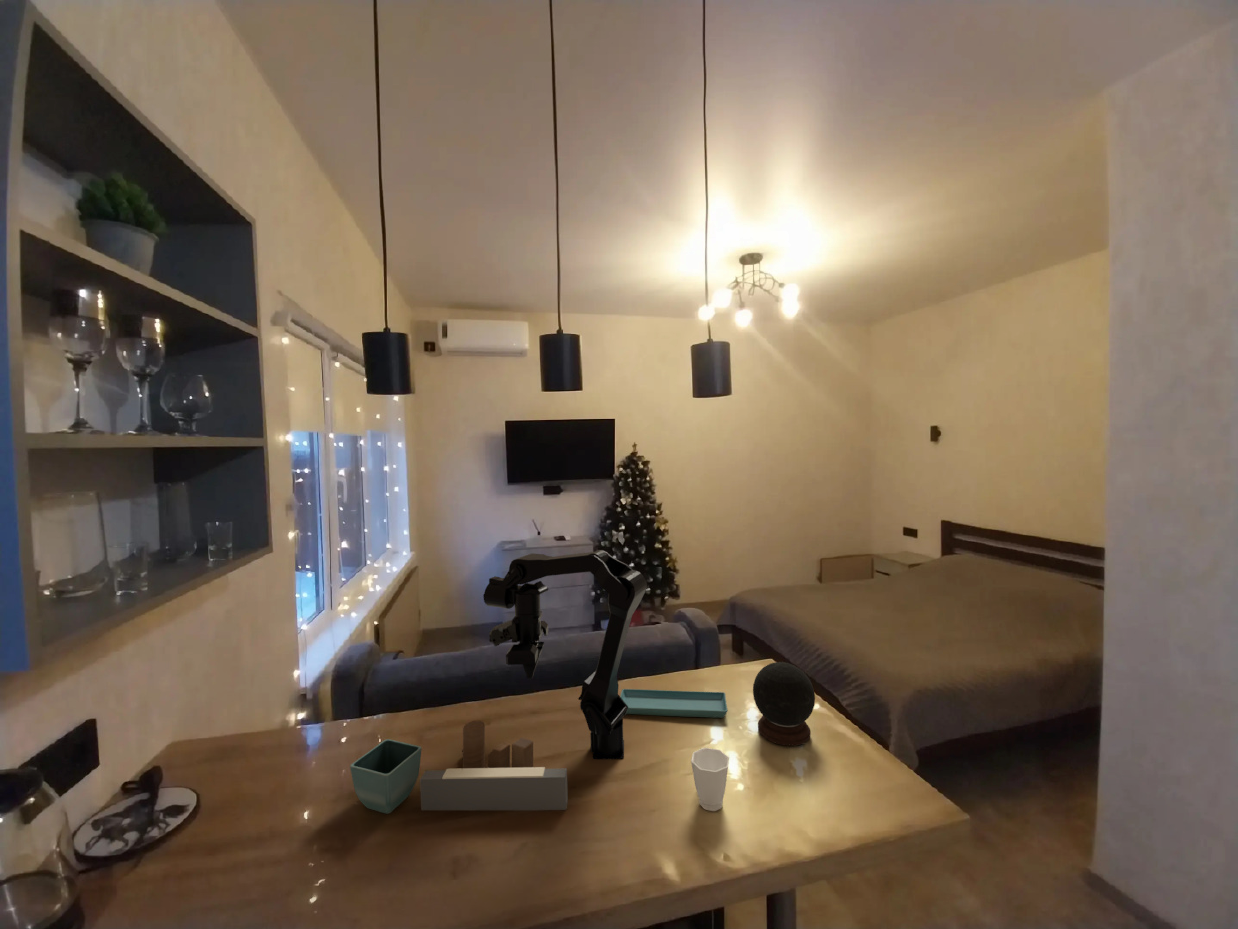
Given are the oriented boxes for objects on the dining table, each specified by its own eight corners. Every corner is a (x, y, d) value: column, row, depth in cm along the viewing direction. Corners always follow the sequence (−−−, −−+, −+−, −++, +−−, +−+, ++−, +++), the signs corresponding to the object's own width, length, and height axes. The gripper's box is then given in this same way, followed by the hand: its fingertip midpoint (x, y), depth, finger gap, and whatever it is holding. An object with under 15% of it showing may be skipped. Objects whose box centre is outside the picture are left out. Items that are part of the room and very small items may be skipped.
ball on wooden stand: (743, 733, 111) (742, 667, 110) (768, 708, 121) (767, 647, 120) (802, 756, 102) (801, 684, 102) (824, 727, 112) (823, 662, 112)
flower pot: (425, 792, 95) (423, 745, 94) (389, 826, 86) (387, 775, 86) (388, 782, 98) (386, 738, 97) (350, 815, 89) (348, 766, 89)
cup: (696, 818, 86) (695, 773, 86) (683, 780, 96) (683, 739, 96) (736, 815, 87) (735, 770, 87) (719, 777, 97) (718, 736, 97)
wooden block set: (539, 776, 98) (539, 723, 99) (510, 801, 91) (510, 743, 91) (472, 753, 107) (472, 704, 107) (440, 774, 99) (440, 721, 100)
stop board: (567, 800, 91) (566, 766, 91) (566, 810, 89) (565, 775, 89) (426, 802, 92) (425, 769, 92) (421, 812, 89) (419, 777, 89)
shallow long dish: (617, 715, 120) (616, 705, 120) (622, 696, 129) (622, 687, 129) (728, 722, 117) (727, 711, 116) (725, 701, 126) (725, 692, 125)
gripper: (502, 598, 123) (504, 661, 124) (480, 626, 104) (483, 699, 105) (547, 597, 123) (549, 660, 123) (533, 625, 104) (535, 698, 105)
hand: (529, 678), depth 114 cm, fingers closed
